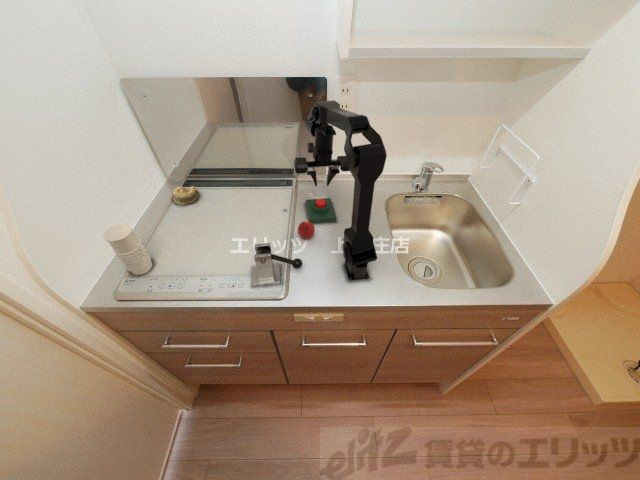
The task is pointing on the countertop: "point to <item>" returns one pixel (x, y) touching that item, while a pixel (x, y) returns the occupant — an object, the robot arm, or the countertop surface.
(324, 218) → the control box
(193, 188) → the cake
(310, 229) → the onion
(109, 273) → the countertop surface
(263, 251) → the lever
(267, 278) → the bracket
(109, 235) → the candle
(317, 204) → the button
